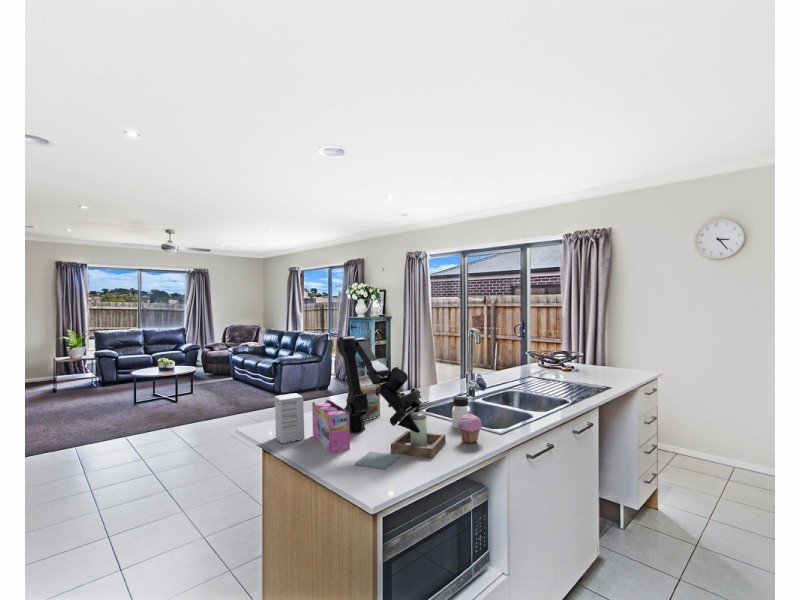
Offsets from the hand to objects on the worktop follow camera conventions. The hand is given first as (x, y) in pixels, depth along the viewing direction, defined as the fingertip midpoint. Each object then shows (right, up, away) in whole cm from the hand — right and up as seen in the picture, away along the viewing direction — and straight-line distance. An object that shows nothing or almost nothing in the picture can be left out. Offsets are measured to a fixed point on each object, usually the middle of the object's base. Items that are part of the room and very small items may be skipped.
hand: (422, 429), depth 144 cm
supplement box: (-52, -9, +14) cm, 54 cm away
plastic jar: (-1, -7, 0) cm, 7 cm away
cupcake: (+18, -6, +5) cm, 20 cm away
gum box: (-35, -8, +9) cm, 37 cm away
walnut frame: (-1, -7, 0) cm, 7 cm away
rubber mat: (-16, -7, -11) cm, 20 cm away
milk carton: (-25, -8, +42) cm, 49 cm away
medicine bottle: (+18, -7, +25) cm, 31 cm away
